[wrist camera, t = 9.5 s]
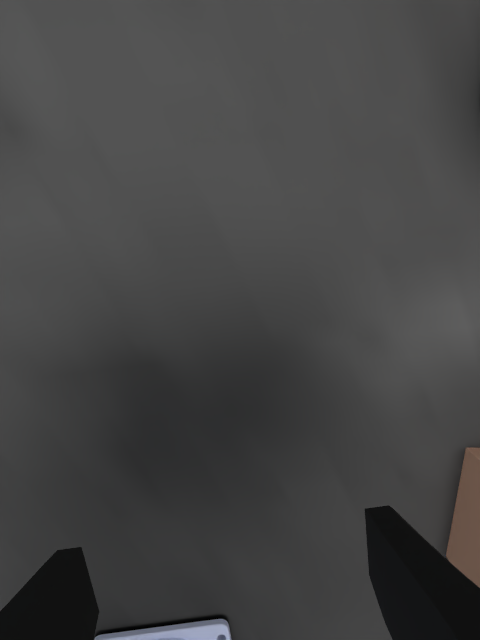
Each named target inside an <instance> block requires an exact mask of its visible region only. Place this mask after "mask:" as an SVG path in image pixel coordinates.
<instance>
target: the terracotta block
mask: <svg viewBox="0 0 480 640" xmlns="http://www.w3.org/2000/svg"><path fill="white" fill-rule="evenodd" d="M446 557H447V558H448V560H449V562H450V563H451V564H453V565H454V566H455V567H456V568H457V569H458V570H459V571H461V572H462V573H463V574H464V575H465V576H466V577H467V578H469V579H470V580H471V581H472V582H473V583H475V584H476V585H477V586H478V587H479V588H480V448H466V451H465V456H464V462H463V467H462V472H461V478H460V483H459V488H458V494H457V499H456V504H455V510H454V515H453V521H452V526H451V531H450V537H449V542H448V547H447V553H446Z"/></svg>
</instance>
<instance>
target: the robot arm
mask: <svg viewBox="0 0 480 640" xmlns="http://www.w3.org/2000/svg"><path fill="white" fill-rule="evenodd" d="M365 519H366V534H367V548H368V563H369V576H370V579H371V582H372V585H373V588H374V591H375V594H376V597H377V600H378V603H379V606H380V609H381V612H382V615H383V618H384V621H385V623H386V625H387V628H388V630H389V632H390V635H391V637H392V639H393V640H480V588H479V587H478V586H477V585H476V584H475V583H473V582H472V581H471V580H470V579H469V578H467V577H466V576H465V575H464V574H463V573H462V572H461V571H459V570H458V569H457V568H456V567H455V566H454V565H453V564H451V563H450V562H449V561H448V560H447V559H446V558H445V557H443V556H442V555H441V554H440V553H439V552H438V551H437V550H436V549H435V548H434V547H433V546H431V545H430V544H429V543H428V542H427V541H426V540H425V539H424V538H423V537H422V536H421V535H420V534H419V533H418V532H417V531H416V530H414V529H413V528H412V527H411V526H410V525H409V524H408V523H407V522H406V521H405V520H404V519H403V518H402V517H401V516H400V515H399V514H398V513H397V512H396V511H395V510H394V509H393V508H391V507H390V506H382V507H375V508H367V509H365ZM98 614H99V609H98V606H97V602H96V598H95V595H94V591H93V587H92V584H91V580H90V576H89V573H88V569H87V566H86V562H85V558H84V555H83V551H82V547H78V548H71V549H64V550H57V551H56V552H55V553H54V554H53V556H52V557H51V558H50V559H49V560H48V561H47V562H46V563H45V564H44V565H43V566H42V567H41V568H40V569H39V570H38V571H37V572H36V574H35V575H34V576H33V577H32V578H31V579H30V580H29V581H28V582H27V583H26V584H25V586H24V587H23V588H22V589H21V590H20V591H19V592H18V593H17V594H16V595H15V596H14V597H13V599H12V600H11V601H10V602H9V603H8V604H7V605H6V606H5V607H4V608H3V609H2V610H1V611H0V640H93V638H94V633H95V629H96V624H97V619H98ZM94 640H232V639H231V634H230V628H229V624H228V622H227V621H226V620H224V619H213V620H206V621H198V622H191V623H183V624H176V625H169V626H161V627H154V628H146V629H139V630H131V631H124V632H117V633H109V634H102V635H98V636H96V637H95V639H94Z"/></svg>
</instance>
